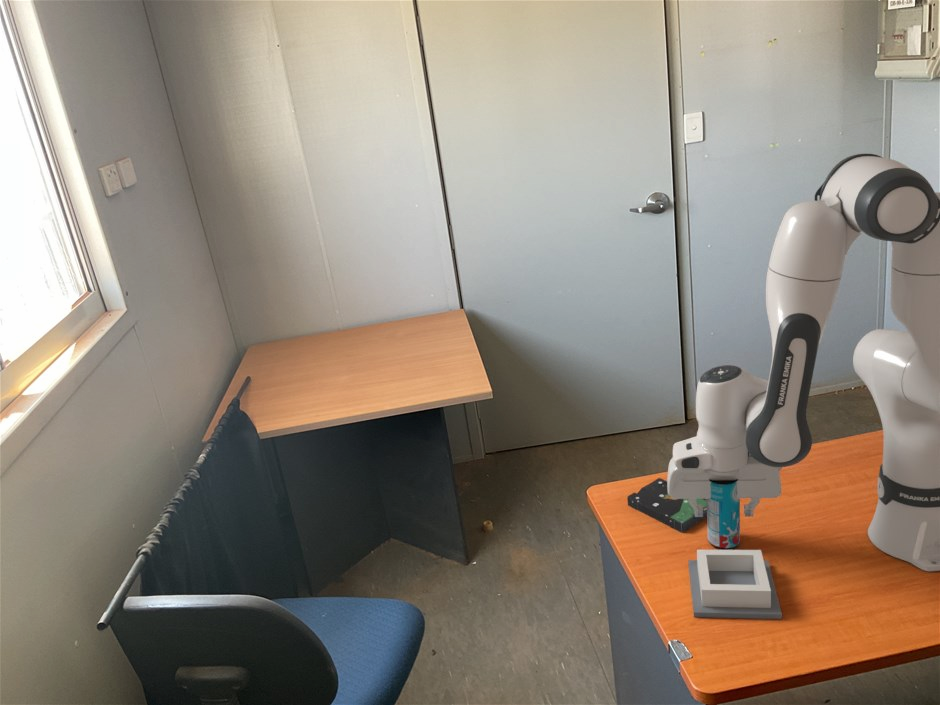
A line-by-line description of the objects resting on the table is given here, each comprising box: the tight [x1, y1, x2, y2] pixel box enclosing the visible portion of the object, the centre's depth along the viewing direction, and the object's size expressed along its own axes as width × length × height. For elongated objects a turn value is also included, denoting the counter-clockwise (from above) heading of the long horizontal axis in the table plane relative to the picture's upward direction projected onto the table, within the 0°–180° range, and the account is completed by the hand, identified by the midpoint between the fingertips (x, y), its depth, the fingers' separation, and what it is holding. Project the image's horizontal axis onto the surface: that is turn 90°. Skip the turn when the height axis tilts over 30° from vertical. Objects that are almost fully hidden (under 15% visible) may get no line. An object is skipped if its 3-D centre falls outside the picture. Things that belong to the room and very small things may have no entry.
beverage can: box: [706, 479, 741, 550], centre depth 145 cm, size 6×6×15 cm
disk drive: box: [626, 477, 707, 534], centre depth 160 cm, size 10×3×15 cm
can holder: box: [687, 549, 783, 620], centre depth 134 cm, size 14×14×4 cm
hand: (723, 515), depth 145 cm, fingers open, 8 cm apart
